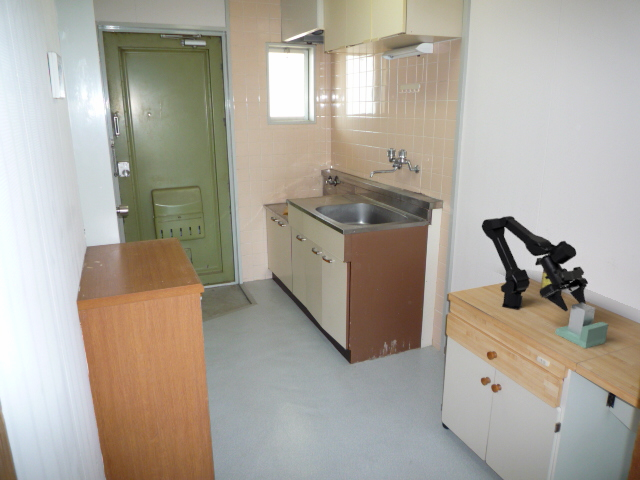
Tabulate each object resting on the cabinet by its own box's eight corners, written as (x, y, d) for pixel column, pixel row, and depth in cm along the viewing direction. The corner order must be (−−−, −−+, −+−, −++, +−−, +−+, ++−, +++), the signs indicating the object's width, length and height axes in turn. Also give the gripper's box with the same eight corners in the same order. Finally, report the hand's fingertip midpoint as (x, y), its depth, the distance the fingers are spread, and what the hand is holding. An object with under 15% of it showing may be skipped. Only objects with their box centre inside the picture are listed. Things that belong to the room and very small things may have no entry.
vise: (555, 333, 170) (557, 315, 168) (574, 328, 174) (577, 311, 172) (585, 348, 159) (588, 329, 157) (605, 342, 163) (608, 324, 161)
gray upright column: (567, 330, 168) (571, 304, 165) (577, 328, 170) (581, 302, 167) (580, 336, 163) (585, 310, 160) (590, 334, 165) (595, 307, 162)
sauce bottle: (557, 298, 201) (564, 254, 196) (541, 297, 202) (547, 253, 197) (553, 293, 207) (559, 250, 202) (538, 292, 209) (544, 249, 203)
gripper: (550, 263, 163) (574, 303, 156) (587, 256, 170) (611, 295, 164) (529, 277, 172) (551, 316, 165) (565, 270, 179) (587, 307, 173)
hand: (576, 308), depth 166 cm, fingers open, 9 cm apart
